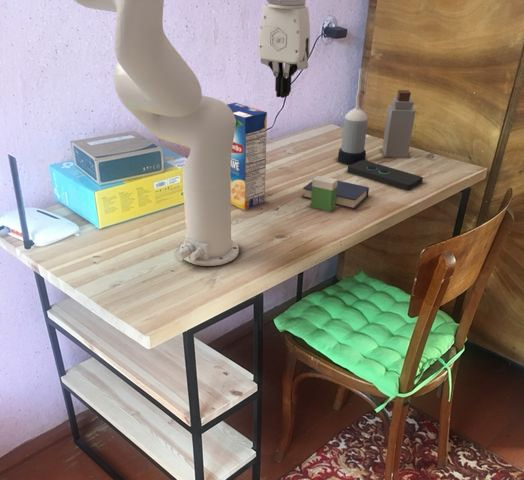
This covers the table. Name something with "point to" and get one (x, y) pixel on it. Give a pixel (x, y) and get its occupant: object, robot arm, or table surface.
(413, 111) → the perfume bottle
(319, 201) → the green and white eraser
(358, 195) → the book
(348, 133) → the humidifier
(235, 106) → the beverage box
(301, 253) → the table surface
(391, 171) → the smart home device
